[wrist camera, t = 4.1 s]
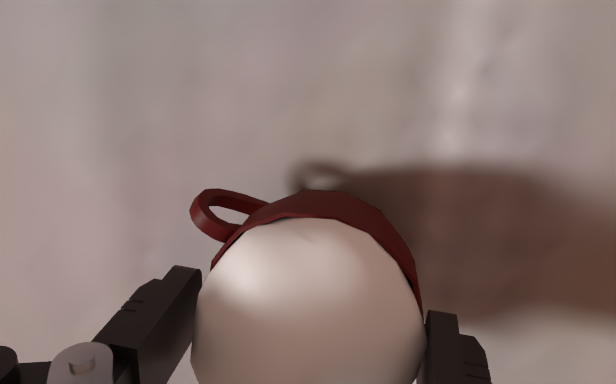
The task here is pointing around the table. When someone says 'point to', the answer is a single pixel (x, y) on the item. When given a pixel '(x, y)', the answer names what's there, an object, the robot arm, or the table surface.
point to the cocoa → (306, 294)
